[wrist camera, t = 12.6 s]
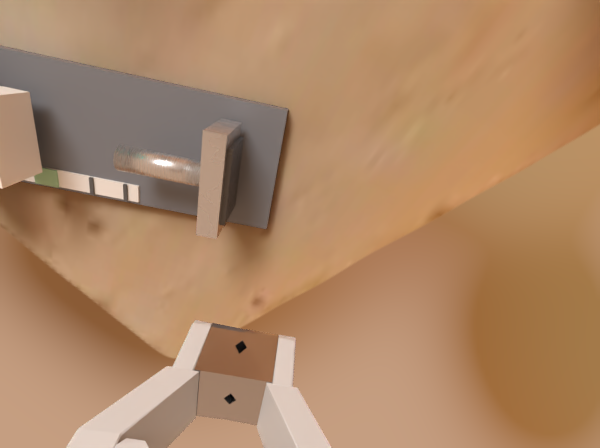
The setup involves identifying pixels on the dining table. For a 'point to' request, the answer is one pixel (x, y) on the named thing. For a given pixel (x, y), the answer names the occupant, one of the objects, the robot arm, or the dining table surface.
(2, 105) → the gauge pointer
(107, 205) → the dining table surface
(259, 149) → the frame
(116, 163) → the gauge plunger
